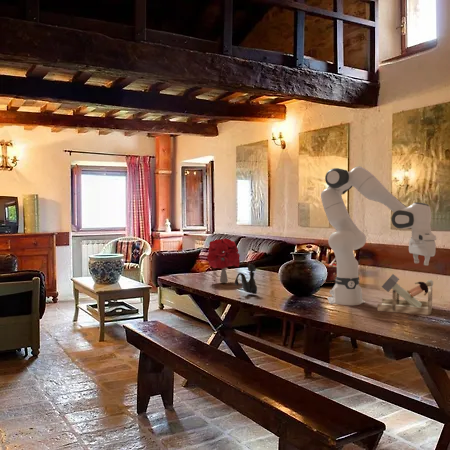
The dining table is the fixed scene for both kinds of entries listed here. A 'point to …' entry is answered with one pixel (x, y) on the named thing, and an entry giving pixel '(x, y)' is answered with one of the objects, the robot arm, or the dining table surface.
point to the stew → (331, 272)
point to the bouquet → (223, 256)
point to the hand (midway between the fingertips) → (421, 264)
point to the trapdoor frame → (406, 305)
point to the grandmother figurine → (420, 288)
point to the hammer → (400, 290)
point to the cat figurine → (250, 285)
